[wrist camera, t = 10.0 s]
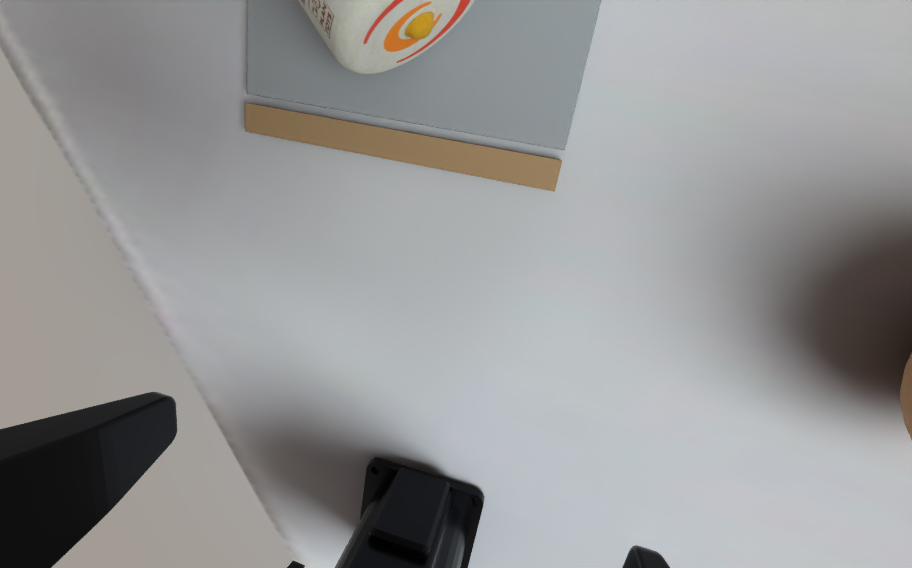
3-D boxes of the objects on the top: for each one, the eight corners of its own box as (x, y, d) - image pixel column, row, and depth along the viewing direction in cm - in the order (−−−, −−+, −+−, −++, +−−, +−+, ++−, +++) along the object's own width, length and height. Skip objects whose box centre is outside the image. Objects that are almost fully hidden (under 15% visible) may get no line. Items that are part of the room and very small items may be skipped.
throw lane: (554, 190, 17) (554, 191, 17) (251, 131, 19) (245, 131, 19) (638, -156, 14) (641, -164, 13) (254, -179, 16) (247, -187, 15)
